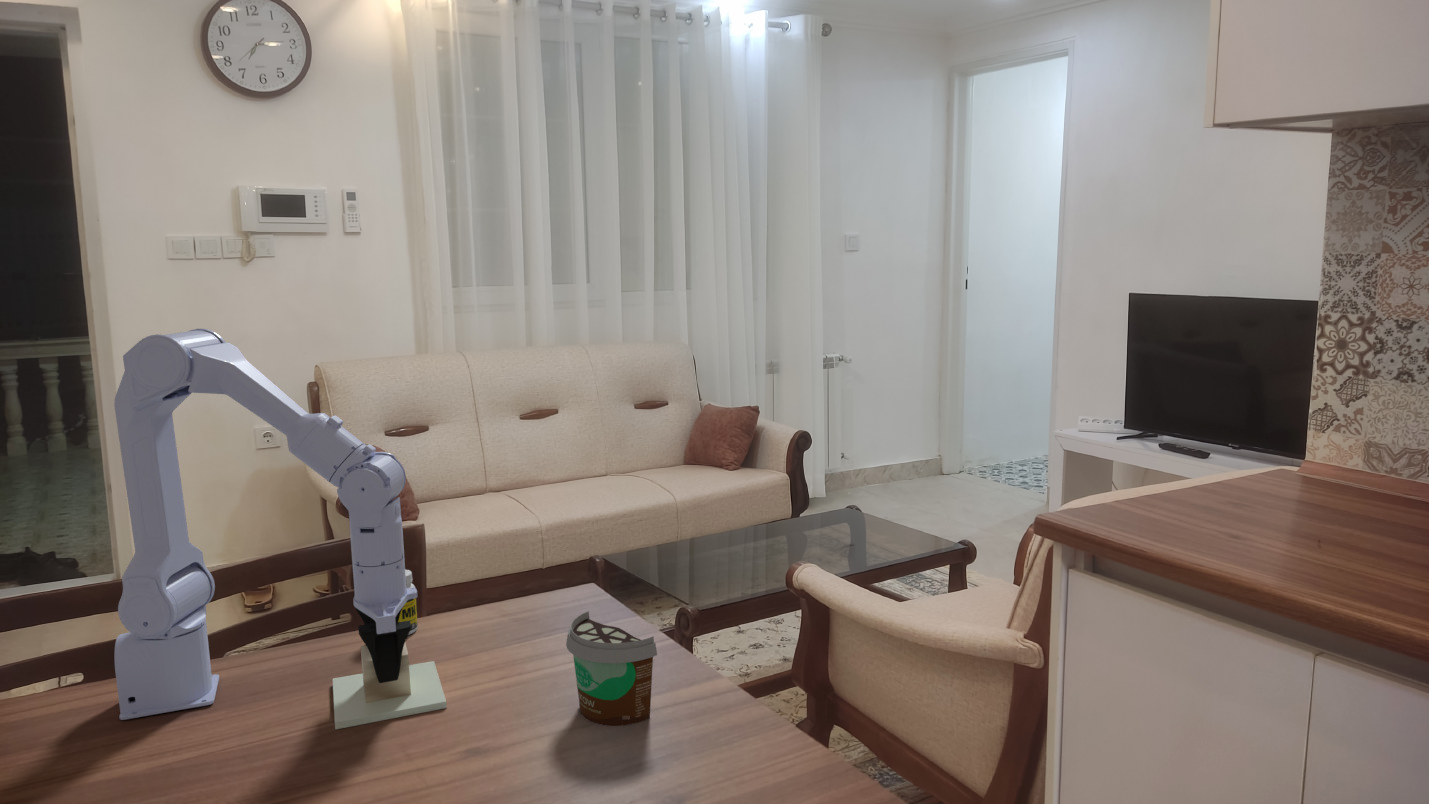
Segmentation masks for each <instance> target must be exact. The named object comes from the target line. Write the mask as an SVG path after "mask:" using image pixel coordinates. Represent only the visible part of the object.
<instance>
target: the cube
mask: <svg viewBox="0 0 1429 804" xmlns="http://www.w3.org/2000/svg"><path fill="white" fill-rule="evenodd" d="M360 653H361V654H360V656H361V667H362V668H361V670H362V673H363V684H364V693H365V701H366V703H369V702H375V701H380V700H385V699H391V698H396V697H401V696H407V695H411V688H410V673H409V665H410V663H409V662H410V659H409V653H408V648H407V643H406V642H405V643H404V647H403V651H402V657H401V666H400V672H399V677H398V680H395V681H390V682H384V683H379V681H378V679H377V676H376V673H375V669H374V665H373V661H372V658H371V655H370V652H369V650H368V648H367V646H366V644H364V645H360Z"/></svg>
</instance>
